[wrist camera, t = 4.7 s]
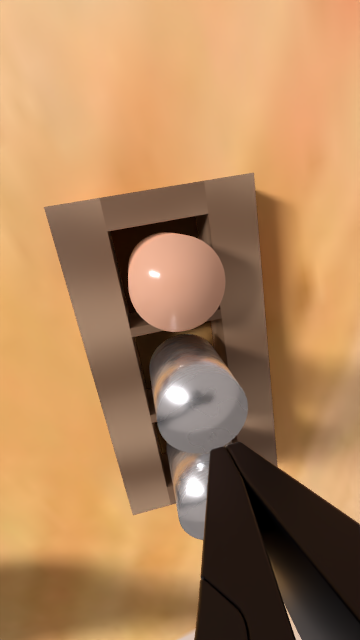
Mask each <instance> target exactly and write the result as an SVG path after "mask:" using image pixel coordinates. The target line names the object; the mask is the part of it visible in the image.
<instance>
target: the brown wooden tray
mask: <svg viewBox="0 0 360 640" xmlns="http://www.w3.org/2000/svg"><path fill="white" fill-rule="evenodd" d="M44 209H45V212H46V216H47V219H48V222H49V226H50V229H51V233H52V236H53V240H54V243H55V247H56V250H57V254H58V257H59V261H60V264H61V267H62V271H63V274H64V278H65V281H66V285H67V288H68V292H69V295H70V299H71V302H72V305H73V309H74V312H75V316H76V319H77V323H78V326H79V330H80V333H81V337H82V340H83V343H84V347H85V350H86V354H87V357H88V361H89V364H90V368H91V371H92V375H93V378H94V382H95V385H96V388H97V392H98V395H99V399H100V402H101V406H102V409H103V413H104V416H105V420H106V423H107V426H108V430H109V433H110V437H111V440H112V444H113V447H114V451H115V454H116V458H117V461H118V464H119V468H120V471H121V475H122V478H123V482H124V485H125V489H126V492H127V496H128V499H129V503H130V506H131V509H132V513H133V515H136V514H139V513H143V512H147V511H150V510H154V509H157V508H161V507H165V506H168V505H172V504H176V499H175V494H174V488H173V482H172V477H171V471H170V466H169V460H168V454H167V453H166V454H162V453H161V449H160V445H159V440H158V436H157V432H156V427H155V423H154V422H157V417H156V411H155V404H154V398H153V391H152V389H148V390H147V388H146V384H145V379H144V375H143V371H142V366H141V362H140V358H139V353H138V349H137V344H136V340H135V337H136V336H140V335H145V334H150V333H154V332H159V331H164V330H161V329H158V328H156V327H154V326H152V325H150V324H149V323H147V322H146V321H145V320H144V319H143V318H142V317H141V316H140V315H139V314H138V313H137V312H133V313H129V310H128V305H127V301H126V297H125V292H124V288H123V283H122V279H121V275H120V270H119V266H118V262H117V257H116V253H115V249H114V244H113V240H112V236H111V231H113V230H118V229H124V228H130V227H135V226H141V225H147V224H152V223H158V222H164V221H169V220H175V219H181V218H186V217H192V216H196V222H197V229H198V236H199V239H200V240H202V241H203V242H205V243H206V244H208V245H209V246H210V247H211V248H212V249H213V250H214V251H215V252H216V254H217V255H218V257H219V258H220V261H221V263H222V265H223V268H224V272H225V291H224V295H223V298H222V301H221V303H220V305H219V307H218V309H217V310H216V312H215V313H214V314H213V315H212V316H211V317H210V318H209V319H208V320H207V321H211V328H212V335H213V342H214V349H215V351H216V352H217V353H218V355H219V356H220V358H221V359H222V361H223V362H224V363H225V365H226V366H227V368H228V369H229V370H230V372H231V373H232V375H233V376H234V378H235V379H236V380H237V382H238V383H239V385H240V386H241V388H242V389H243V391H244V393H245V395H246V398H247V402H248V413H247V418H246V421H245V423H244V425H243V427H242V429H241V430H240V432H239V433H238V434H237V435H236V437H235V438H234V439H232V442H233V443H235V442H242V443H243V444H245V445H246V446H248V447H249V448H250V449H252V450H253V451H255V452H256V453H258V454H259V455H261V456H262V457H264V458H265V459H266V460H268V461H269V462H271V463H272V464H274V465H275V466H277V455H276V442H275V430H274V417H273V405H272V393H271V380H270V368H269V355H268V343H267V331H266V318H265V306H264V293H263V281H262V269H261V256H260V244H259V231H258V219H257V207H256V194H255V182H254V173H249V174H243V175H237V176H231V177H225V178H218V179H212V180H206V181H200V182H194V183H188V184H182V185H176V186H170V187H164V188H158V189H152V190H146V191H139V192H133V193H127V194H121V195H115V196H109V197H103V198H97V199H91V200H85V201H79V202H73V203H67V204H60V205H54V206H48V207H44Z"/></svg>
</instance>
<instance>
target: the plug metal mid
mask: <svg viewBox="0 0 360 640" xmlns="http://www.w3.org/2000/svg"><path fill="white" fill-rule="evenodd" d="M149 372H150V378H151V385H152V391H153V398H154V404H155V411H156V417H157V423H158V428H159V431H160V433H161V435H162V437H163V438H164V439H165V440H166V442H167V443H168V444H170V445H171V446H172V447H174V448H176V449H178V450H180V451H183V452H187V453H206V452H210V451H211V449H214V448H218V447H221V446H224V445H226V444H227V443H229V442H230V441H231V440H232V439H234V438H235V437H236V435H237V434H238V433H239V432H240V430H241V429H242V427H243V425H244V423H245V421H246V418H247V413H248V402H247V398H246V395H245V393H244V391H243V389H242V388H241V386H240V385H239V383H238V382H237V380H236V379H235V378H234V376H233V375H232V373H231V372H230V370H229V369H228V368H227V366H226V365H225V363H224V362H223V361H222V359H221V358H220V356H219V355H218V353H217V352H216V351H215V349H214V348H213V346H212V345H211V344H210V343H209V342H208V341H207V340H205V339H204V338H202V337H200V336H197V335H193V334H180V335H176V336H173V337H171V338H168V339H167V340H165V341H164V342H162V343H161V344H160V345H159V346H158V347H157V348H156V350H155V351H154V353H153V355H152V357H151V360H150V365H149Z"/></svg>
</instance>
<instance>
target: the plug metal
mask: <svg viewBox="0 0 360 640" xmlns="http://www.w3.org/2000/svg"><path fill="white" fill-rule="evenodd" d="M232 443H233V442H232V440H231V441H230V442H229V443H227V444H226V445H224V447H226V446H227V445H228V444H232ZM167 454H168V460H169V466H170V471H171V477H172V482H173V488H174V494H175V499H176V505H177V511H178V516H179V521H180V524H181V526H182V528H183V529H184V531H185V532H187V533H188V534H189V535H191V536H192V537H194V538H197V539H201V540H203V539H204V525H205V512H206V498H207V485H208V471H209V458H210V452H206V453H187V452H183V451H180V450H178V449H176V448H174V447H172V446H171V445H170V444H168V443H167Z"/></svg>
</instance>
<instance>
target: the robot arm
mask: <svg viewBox="0 0 360 640" xmlns="http://www.w3.org/2000/svg"><path fill="white" fill-rule="evenodd" d="M284 604H285V605H284ZM285 606H286V608H287V610H288V612H289V614H290V616H291V618H292V620H293V623H294V625H295V626H296V629H297V631H298V633H299V635H300V637H301V639H302V640H360V524H359V523H357V522H356V521H355V520H353V519H352V518H350V517H349V516H347V515H346V514H344V513H343V512H342V511H340V510H339V509H337V508H336V507H334V506H333V505H331V504H330V503H329V502H327V501H326V500H324V499H323V498H321V497H320V496H318V495H317V494H316V493H314V492H313V491H311V490H310V489H308V488H307V487H305V486H304V485H303V484H301V483H300V482H298V481H297V480H295V479H294V478H292V477H291V476H290V475H288V474H287V473H285V472H284V471H282V470H281V469H279V468H278V467H277V466H275V465H274V464H272V463H271V462H269V461H268V460H266V459H265V458H264V457H262V456H261V455H259V454H258V453H256V452H255V451H253V450H252V449H250V448H249V447H248V446H246V445H245V444H243V443H242V442H235V443H232V444H228V445H227V446H226V447H224V446H221V447H218V448H214V449H211V451H210V458H209V471H208V485H207V498H206V512H205V525H204V539H203V552H202V566H201V580H200V589H199V602H198V612H197V621H196V631H195V638H194V640H296V639H295V636H294V633H293V630H292V627H291V624H290V621H289V618H288V614H287V611H286V608H285Z"/></svg>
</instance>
